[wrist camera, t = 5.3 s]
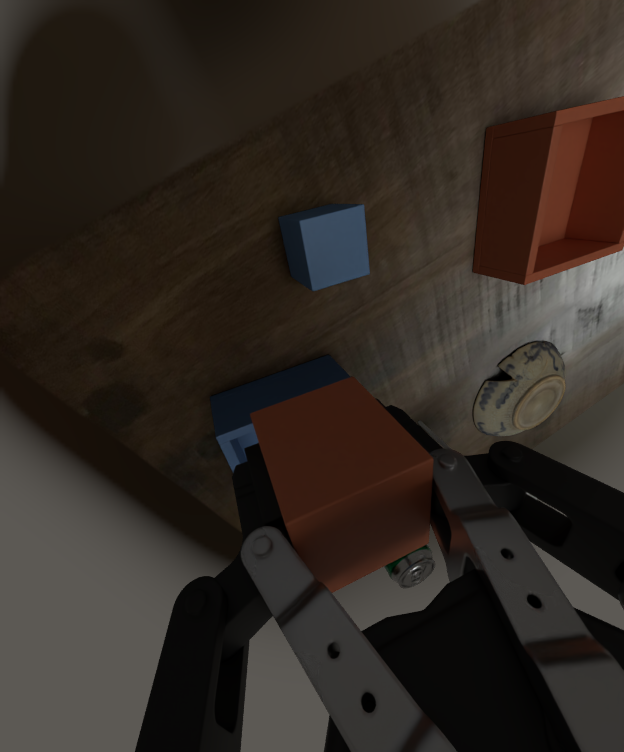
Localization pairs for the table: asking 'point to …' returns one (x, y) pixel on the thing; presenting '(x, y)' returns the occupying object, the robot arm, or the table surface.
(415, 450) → the terracotta block
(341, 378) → the blue bin
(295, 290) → the table surface
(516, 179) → the terracotta bin
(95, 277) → the table surface
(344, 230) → the blue block
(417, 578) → the soda can
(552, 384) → the decorative bowl
